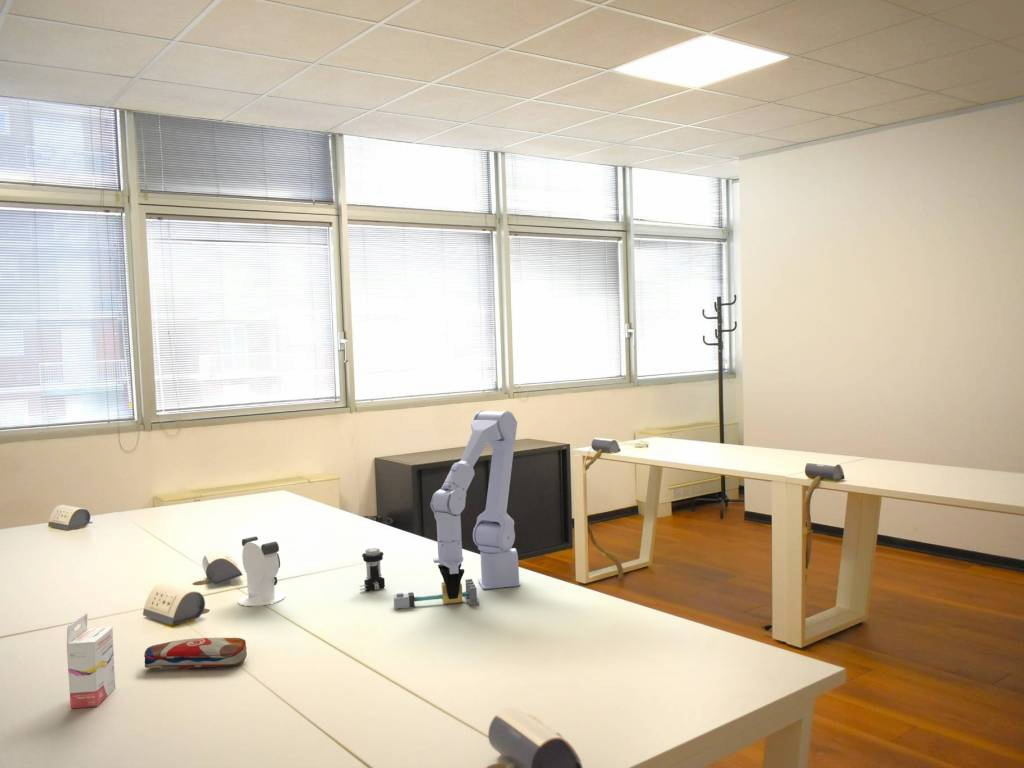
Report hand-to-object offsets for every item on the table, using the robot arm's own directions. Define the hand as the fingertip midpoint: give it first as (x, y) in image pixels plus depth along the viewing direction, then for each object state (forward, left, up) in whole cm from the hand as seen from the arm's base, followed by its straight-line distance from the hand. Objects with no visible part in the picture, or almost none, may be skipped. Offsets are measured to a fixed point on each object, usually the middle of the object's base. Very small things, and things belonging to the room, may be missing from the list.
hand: (452, 596), depth 201 cm
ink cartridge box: (+70, +36, -2) cm, 78 cm away
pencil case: (+54, +24, -2) cm, 59 cm away
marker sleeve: (0, 0, -1) cm, 1 cm away
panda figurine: (+46, -17, -2) cm, 49 cm away
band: (+10, 0, -1) cm, 10 cm away
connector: (+12, 0, -1) cm, 12 cm away
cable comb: (-5, 0, -1) cm, 5 cm away
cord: (+4, 0, -1) cm, 4 cm away
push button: (+19, -17, -2) cm, 25 cm away
